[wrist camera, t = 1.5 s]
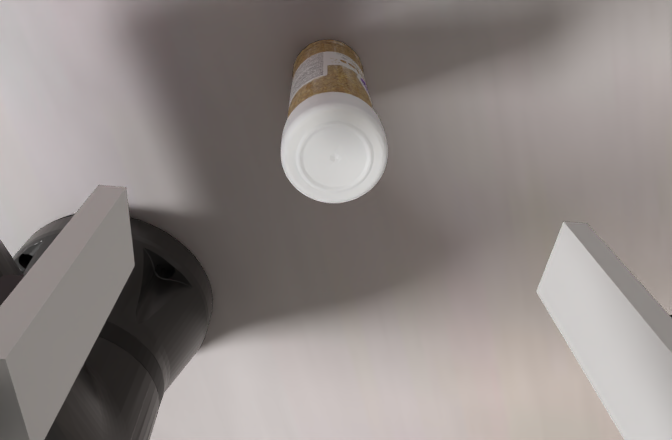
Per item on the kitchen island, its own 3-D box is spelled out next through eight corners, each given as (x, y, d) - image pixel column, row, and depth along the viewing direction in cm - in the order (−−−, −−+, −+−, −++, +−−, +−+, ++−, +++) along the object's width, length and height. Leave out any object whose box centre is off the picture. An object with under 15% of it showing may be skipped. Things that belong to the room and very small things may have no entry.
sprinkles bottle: (376, 81, 33) (410, 168, 21) (320, 122, 34) (324, 225, 23) (334, 21, 31) (347, 81, 19) (276, 66, 32) (256, 149, 21)
